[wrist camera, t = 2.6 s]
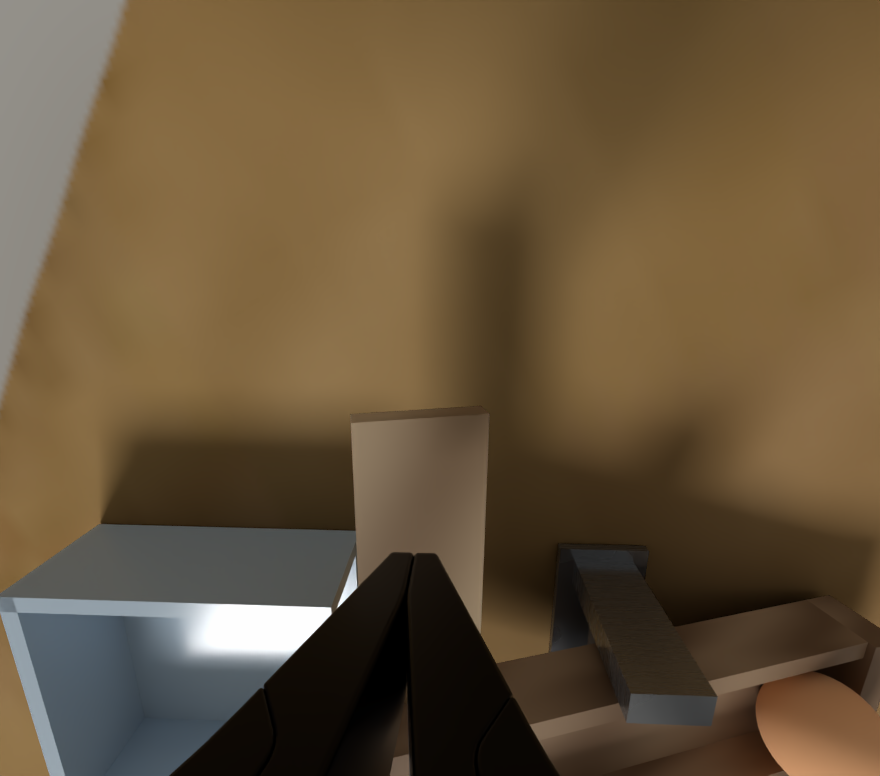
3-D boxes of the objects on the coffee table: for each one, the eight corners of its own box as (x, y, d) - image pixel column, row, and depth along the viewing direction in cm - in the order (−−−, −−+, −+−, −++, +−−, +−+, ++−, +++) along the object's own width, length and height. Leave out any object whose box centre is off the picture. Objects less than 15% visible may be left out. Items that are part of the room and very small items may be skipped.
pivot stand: (645, 545, 15) (743, 683, 10) (617, 730, 17) (686, 920, 12) (558, 543, 15) (611, 679, 10) (541, 726, 17) (578, 915, 12)
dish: (359, 530, 15) (331, 607, 12) (367, 725, 17) (346, 838, 14) (99, 524, 15) (-5, 597, 12) (141, 717, 18) (65, 825, 14)
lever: (856, 373, 14) (985, 398, 11) (773, 689, 17) (856, 768, 14) (349, 402, 10) (353, 449, 7) (367, 794, 14) (375, 926, 11)
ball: (825, 639, 14) (949, 739, 11) (803, 714, 15) (913, 825, 12) (741, 651, 14) (846, 759, 11) (723, 727, 15) (816, 847, 12)
